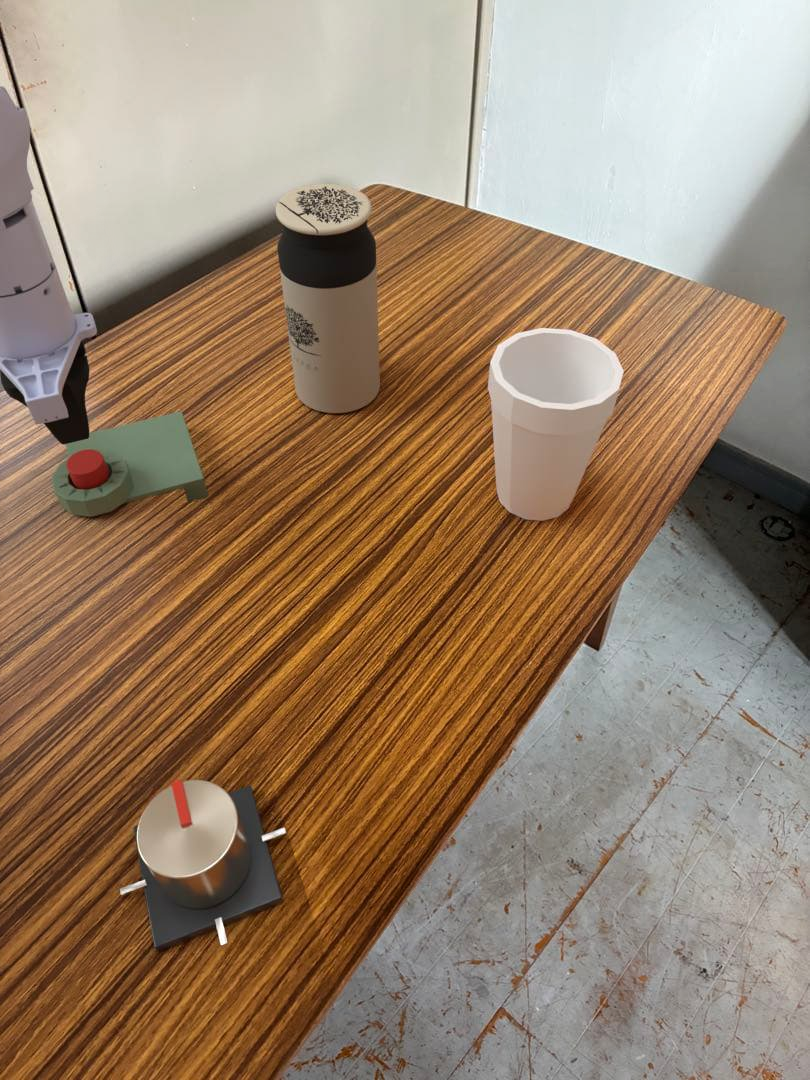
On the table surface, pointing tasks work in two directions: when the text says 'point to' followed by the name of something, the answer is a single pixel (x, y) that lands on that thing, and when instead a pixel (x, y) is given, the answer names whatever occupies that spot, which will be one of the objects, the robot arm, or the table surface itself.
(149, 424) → the button block
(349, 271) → the travel mug
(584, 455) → the foam cup
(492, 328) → the table surface
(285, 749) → the table surface
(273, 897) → the metal dial knob base
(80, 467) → the red button
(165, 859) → the metal dial knob
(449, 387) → the table surface
